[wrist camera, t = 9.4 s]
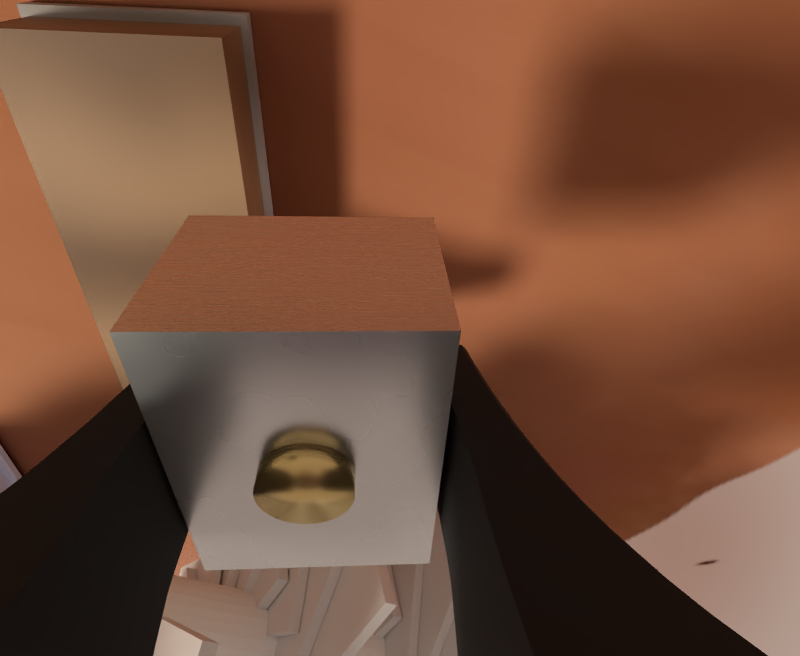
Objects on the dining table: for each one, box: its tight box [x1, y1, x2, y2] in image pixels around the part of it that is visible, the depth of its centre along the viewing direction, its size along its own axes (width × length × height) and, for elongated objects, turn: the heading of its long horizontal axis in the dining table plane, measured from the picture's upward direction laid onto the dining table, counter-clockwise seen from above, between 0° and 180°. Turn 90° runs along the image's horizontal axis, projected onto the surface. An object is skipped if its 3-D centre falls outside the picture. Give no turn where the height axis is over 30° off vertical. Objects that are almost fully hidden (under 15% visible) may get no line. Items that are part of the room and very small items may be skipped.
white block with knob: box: [109, 215, 461, 570], centre depth 9 cm, size 6×4×4 cm
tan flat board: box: [0, 2, 274, 390], centre depth 18 cm, size 16×6×3 cm, turn 177°
